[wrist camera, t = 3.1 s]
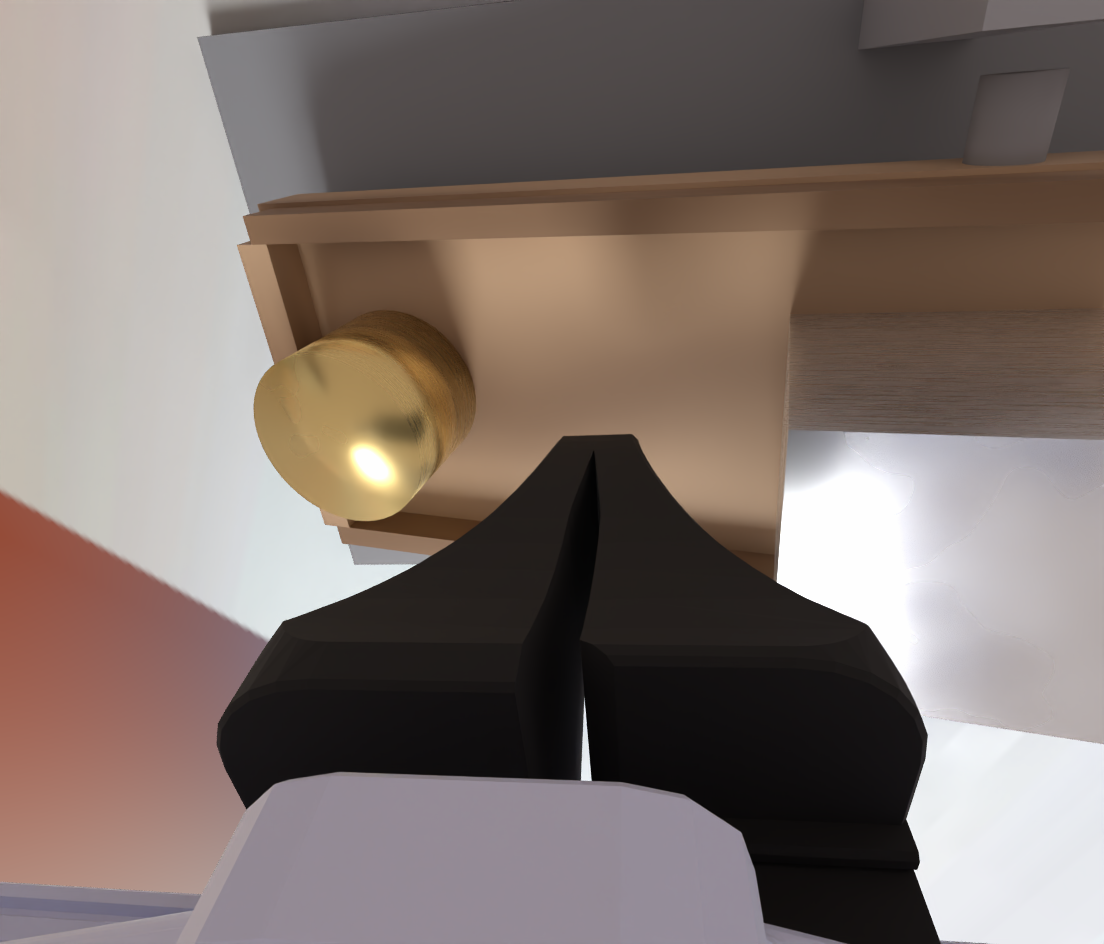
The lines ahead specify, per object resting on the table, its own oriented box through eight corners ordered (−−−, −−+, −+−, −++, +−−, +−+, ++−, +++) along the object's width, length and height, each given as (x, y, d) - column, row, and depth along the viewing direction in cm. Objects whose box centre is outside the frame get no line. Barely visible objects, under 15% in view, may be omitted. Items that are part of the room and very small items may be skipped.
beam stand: (1386, 546, 20) (1678, 723, 14) (360, 554, 24) (281, 694, 19) (1870, -152, 12) (2948, -358, 6) (211, 38, 16) (-8, 14, 11)
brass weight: (486, 463, 17) (434, 530, 14) (352, 451, 18) (284, 511, 16) (463, 310, 15) (398, 358, 12) (314, 308, 16) (229, 351, 14)
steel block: (1029, 545, 14) (1129, 747, 10) (775, 525, 15) (769, 692, 11) (1101, 308, 11) (1278, 446, 7) (790, 314, 13) (787, 429, 9)
